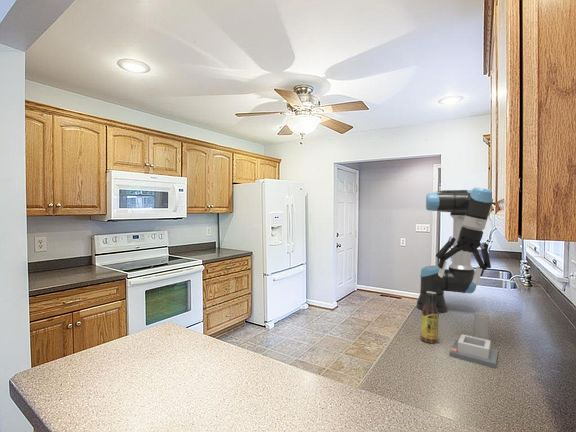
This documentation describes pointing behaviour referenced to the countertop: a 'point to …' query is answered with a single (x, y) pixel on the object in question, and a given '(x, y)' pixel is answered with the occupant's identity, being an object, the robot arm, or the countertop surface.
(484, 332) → the beverage can
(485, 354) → the socket plate
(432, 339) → the sauce bottle
